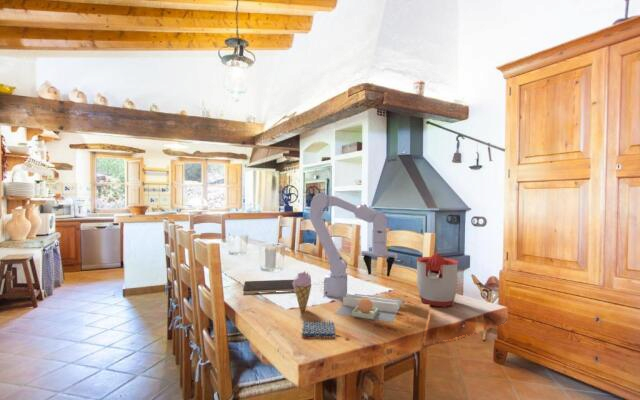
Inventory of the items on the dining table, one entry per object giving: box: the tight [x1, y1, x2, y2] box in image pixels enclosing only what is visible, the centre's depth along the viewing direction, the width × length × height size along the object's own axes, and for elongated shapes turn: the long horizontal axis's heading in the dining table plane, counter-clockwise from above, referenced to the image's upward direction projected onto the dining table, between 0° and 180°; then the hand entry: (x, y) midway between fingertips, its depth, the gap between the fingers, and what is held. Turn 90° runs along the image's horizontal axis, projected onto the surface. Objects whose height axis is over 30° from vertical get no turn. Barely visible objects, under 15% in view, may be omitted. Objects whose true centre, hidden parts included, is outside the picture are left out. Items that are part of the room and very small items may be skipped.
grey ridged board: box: [334, 293, 405, 323], centre depth 120 cm, size 20×26×4 cm
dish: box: [351, 306, 378, 320], centre depth 112 cm, size 7×7×1 cm
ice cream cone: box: [292, 270, 312, 314], centre depth 116 cm, size 7×6×15 cm
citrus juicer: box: [416, 252, 459, 308], centre depth 128 cm, size 16×17×20 cm
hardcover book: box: [242, 279, 295, 295], centre depth 147 cm, size 16×23×2 cm
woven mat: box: [300, 320, 337, 339], centre depth 99 cm, size 10×11×2 cm
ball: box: [358, 298, 373, 313], centre depth 112 cm, size 5×5×5 cm
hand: (378, 274), depth 132 cm, fingers open, 7 cm apart
